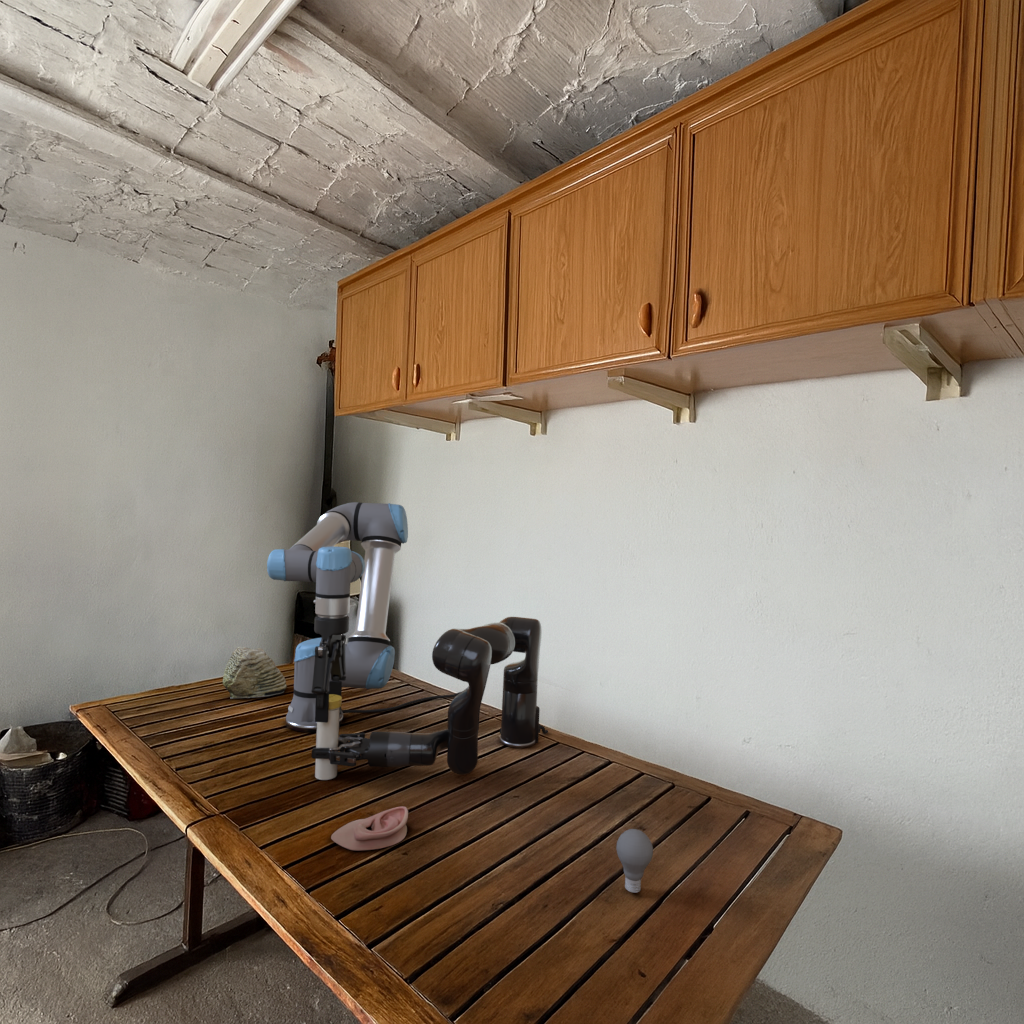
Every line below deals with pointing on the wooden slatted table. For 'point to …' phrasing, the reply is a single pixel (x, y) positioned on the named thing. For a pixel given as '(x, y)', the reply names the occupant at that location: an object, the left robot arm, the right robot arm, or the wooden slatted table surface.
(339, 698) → the lid
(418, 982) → the wooden slatted table surface
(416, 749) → the right robot arm
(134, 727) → the wooden slatted table surface
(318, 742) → the jar
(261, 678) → the fossil
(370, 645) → the left robot arm
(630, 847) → the light bulb
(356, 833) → the anatomical model
